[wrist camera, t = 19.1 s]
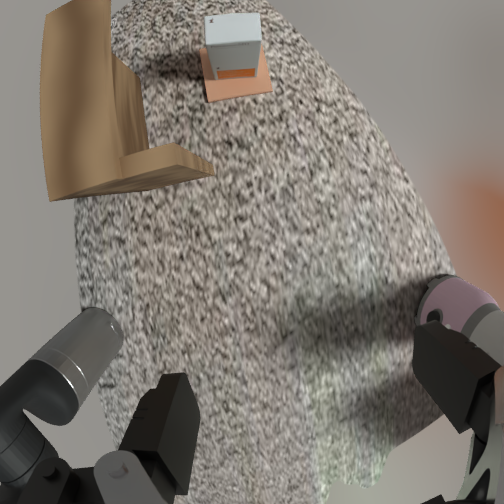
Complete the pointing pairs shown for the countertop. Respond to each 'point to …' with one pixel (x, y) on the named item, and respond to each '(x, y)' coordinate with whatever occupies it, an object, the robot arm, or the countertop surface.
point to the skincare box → (233, 44)
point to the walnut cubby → (98, 114)
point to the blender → (465, 313)
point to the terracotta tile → (235, 81)
